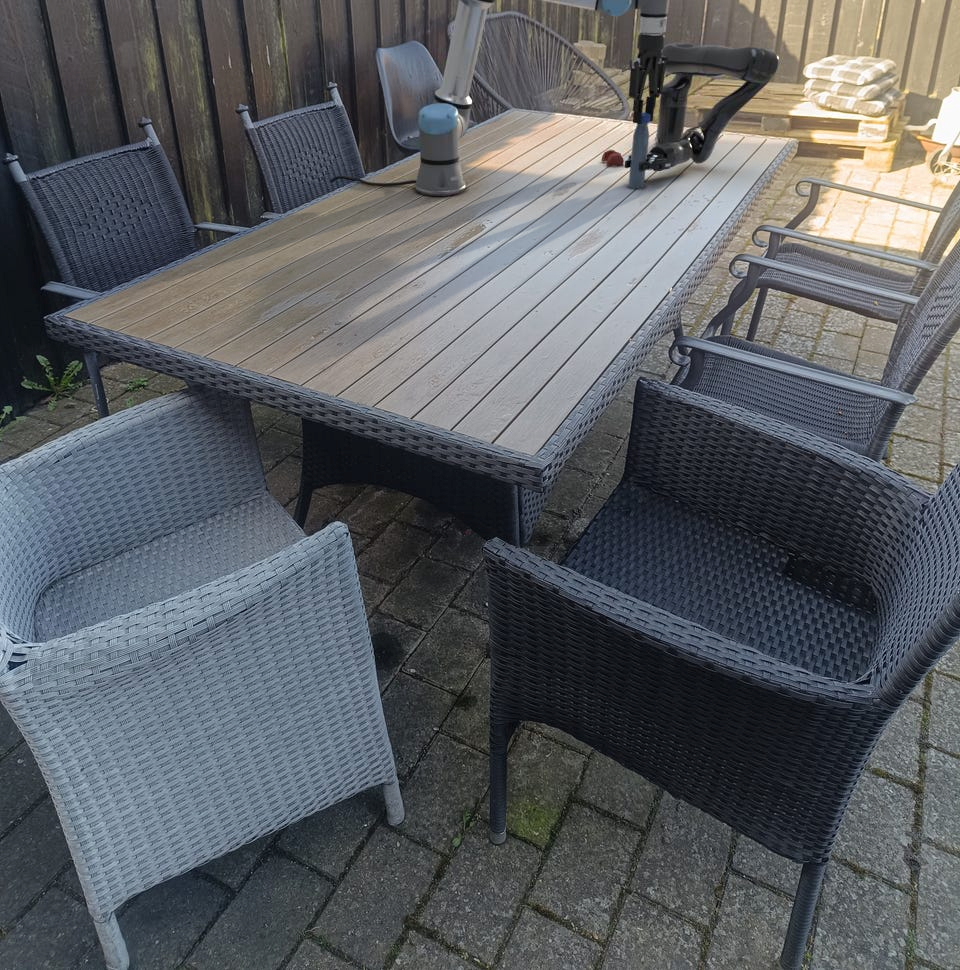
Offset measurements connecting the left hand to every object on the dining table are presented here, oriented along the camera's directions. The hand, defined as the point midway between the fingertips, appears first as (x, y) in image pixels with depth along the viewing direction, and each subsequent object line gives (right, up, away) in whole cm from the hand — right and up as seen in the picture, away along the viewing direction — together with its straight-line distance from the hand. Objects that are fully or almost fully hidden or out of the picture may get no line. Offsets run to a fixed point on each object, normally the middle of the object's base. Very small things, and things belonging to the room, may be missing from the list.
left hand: (642, 121), depth 250 cm
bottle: (0, -15, +11) cm, 19 cm away
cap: (0, +1, -1) cm, 2 cm away
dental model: (-4, 0, +32) cm, 32 cm away
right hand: (-2, -11, +6) cm, 13 cm away
